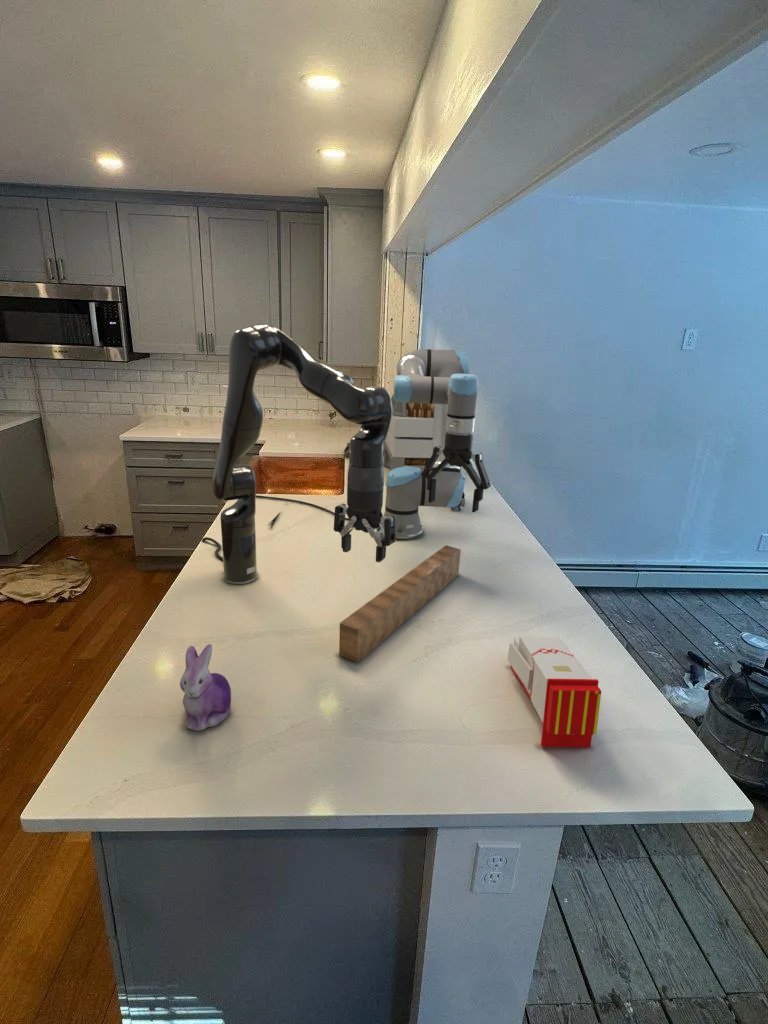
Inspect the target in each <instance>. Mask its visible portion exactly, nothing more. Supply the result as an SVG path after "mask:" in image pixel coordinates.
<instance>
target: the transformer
mask: <svg viewBox="0 0 768 1024" xmlns="http://www.w3.org/2000/svg"><path fill="white" fill-rule="evenodd" d="M391 399H392V405H393V411H392V418H391V422H390V426H389V429H388V433H387V436H386V439H385V442H384V457H383V467H388V468H389V472H390V471H391V470H393V469H395V468H399V467H405V466H413V467H425V466H426V465H427V463H428V461H429V460H430V458H431V456H432V445H433V423H434V404H429V403H404V402H396V401H395V400H394V393H393V394H392V395H391ZM460 468H461V469H462V467H460Z"/></svg>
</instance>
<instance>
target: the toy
mask: <svg viewBox="0 0 768 1024" xmlns="http://www.w3.org/2000/svg"><path fill="white" fill-rule="evenodd" d="M507 662H508V663H509V665H510V669H511V671H512V672H513V674H514V675H515V677H516V678H517V680H518V681H519V683H520V684H521V686H522V688H523V690H524V692H525V693H526V695H527V696H528V698H529V699H530V702H531V703H532V706H533V707H534V709H535V711H536V713H537V715H538V716H539V718H540V721H541V722H542V729H541V739H540V746H541V748H591V747H592V738H593V736H597V730H598V722H599V713H600V707H601V698H602V690H601V688H600V687H599V683H600V681H599V679H597V678H596V679H595V678H592V676H590V674H589V673H588V672H587V671H586V669H585V668H584V667H583V666H582V664H581V663H580V662H579V660H578V659H577V658H576V657H575V655H574V654H573V653H572V651H571V650H570V649H569V648H568V646H567V645H566V644H565V642H564V641H563V640H562V639H561V637H560V636H527V635H526V636H523V635H522V636H521V635H519V637H514V640H513V641H511V642H509V647H508V652H507Z"/></svg>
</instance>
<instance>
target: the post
mask: <svg viewBox="0 0 768 1024" xmlns="http://www.w3.org/2000/svg"><path fill="white" fill-rule="evenodd" d="M461 552H462V549H461V548H459V547H455V546H450V545H447V544H445V545H444V546H442V548H439V550H437V551H436V552H434V553H432V555H430V556H429V557H428V558H425V560H424V561H422V562H420V563H419V564H418V565H416V566H415V567H414V568H412V569H411V570H410V571H409V572H407V573H406V574H405V575H403V576H402V577H401V578H399V579H398V580H396V581H395V582H394V583H392V584H390V586H388V587H387V588H386V589H384V590H383V591H381V592H380V593H378V594H377V595H376V596H374V597H373V598H372V599H370V600H369V601H367V602H366V603H365V604H364V605H362V606H361V607H359V608H358V609H357V610H355V611H354V612H353V613H352V614H350V615H349V616H347V617H346V618H344V619H343V620H342V621H340V622H339V639H338V640H339V642H338V643H339V645H338V646H339V648H338V655H339V656H340V657H343V658H344V659H347V660H350V661H352V662H355V663H359V662H360V661H361V660H363V659H364V657H366V656H367V655H368V654H369V653H370V652H371V651H372V650H374V649H375V648H376V647H377V646H378V645H380V644H381V643H382V642H383V641H384V640H385V639H386V638H387V637H389V636H390V635H391V634H392V633H393V632H394V631H396V630H397V629H398V628H399V627H400V626H401V625H403V624H404V623H405V622H406V621H407V620H408V619H410V617H412V616H413V615H414V614H416V612H417V611H418V610H420V609H421V608H422V607H423V606H425V604H427V603H428V602H429V601H430V600H431V599H432V598H434V597H435V596H436V595H437V594H438V593H439V592H440V591H442V590H443V589H444V588H445V587H446V586H447V585H448V584H450V583H451V582H452V581H453V580H454V579H455V578H457V577H458V576H459V573H460V562H461V554H462V553H461Z"/></svg>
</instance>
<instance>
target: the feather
mask: <svg viewBox="0 0 768 1024" xmlns="http://www.w3.org/2000/svg"><path fill="white" fill-rule="evenodd" d="M280 514H281V512H279V513H278V514H276V516H275V517H274V518H273V519H272V520H271V521H270V522H269V523H267V526H269V525H270V529H272V528H273V526H274V525H275V522H276V521H277V519H278V517H279V515H280ZM267 526H266V527H267Z"/></svg>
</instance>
